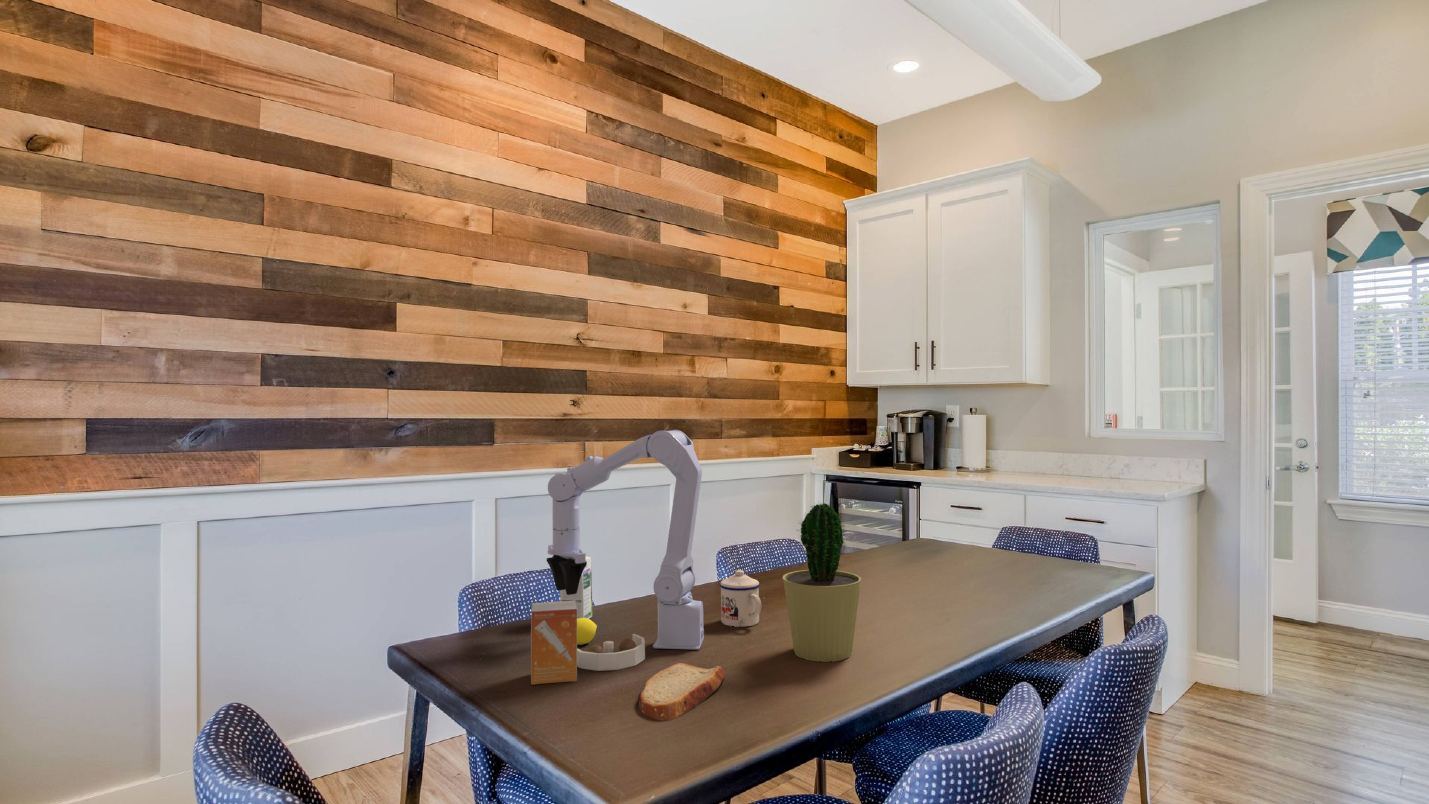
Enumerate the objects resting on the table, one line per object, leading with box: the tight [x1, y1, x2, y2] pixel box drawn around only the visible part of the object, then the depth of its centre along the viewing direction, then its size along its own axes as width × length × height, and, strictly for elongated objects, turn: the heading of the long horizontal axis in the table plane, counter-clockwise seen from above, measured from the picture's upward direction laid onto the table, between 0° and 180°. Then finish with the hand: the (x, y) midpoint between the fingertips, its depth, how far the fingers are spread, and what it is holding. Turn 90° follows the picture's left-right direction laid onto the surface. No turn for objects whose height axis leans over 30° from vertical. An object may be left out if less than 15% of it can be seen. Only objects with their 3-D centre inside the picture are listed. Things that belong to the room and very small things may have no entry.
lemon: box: [577, 618, 598, 646], centre depth 153 cm, size 7×5×5 cm
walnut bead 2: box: [618, 637, 636, 652], centre depth 144 cm, size 3×3×3 cm
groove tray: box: [577, 633, 646, 672], centre depth 143 cm, size 12×14×3 cm
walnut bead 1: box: [586, 644, 604, 653], centre depth 140 cm, size 3×3×3 cm
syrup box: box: [559, 555, 594, 619], centre depth 171 cm, size 6×6×14 cm
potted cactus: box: [782, 501, 862, 663], centre depth 146 cm, size 15×15×30 cm
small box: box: [530, 600, 578, 686], centre depth 133 cm, size 8×6×13 cm
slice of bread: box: [638, 662, 726, 721], centre depth 124 cm, size 18×18×4 cm
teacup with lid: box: [719, 569, 762, 628], centre depth 166 cm, size 12×9×12 cm
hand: (566, 591), depth 158 cm, fingers open, 4 cm apart
